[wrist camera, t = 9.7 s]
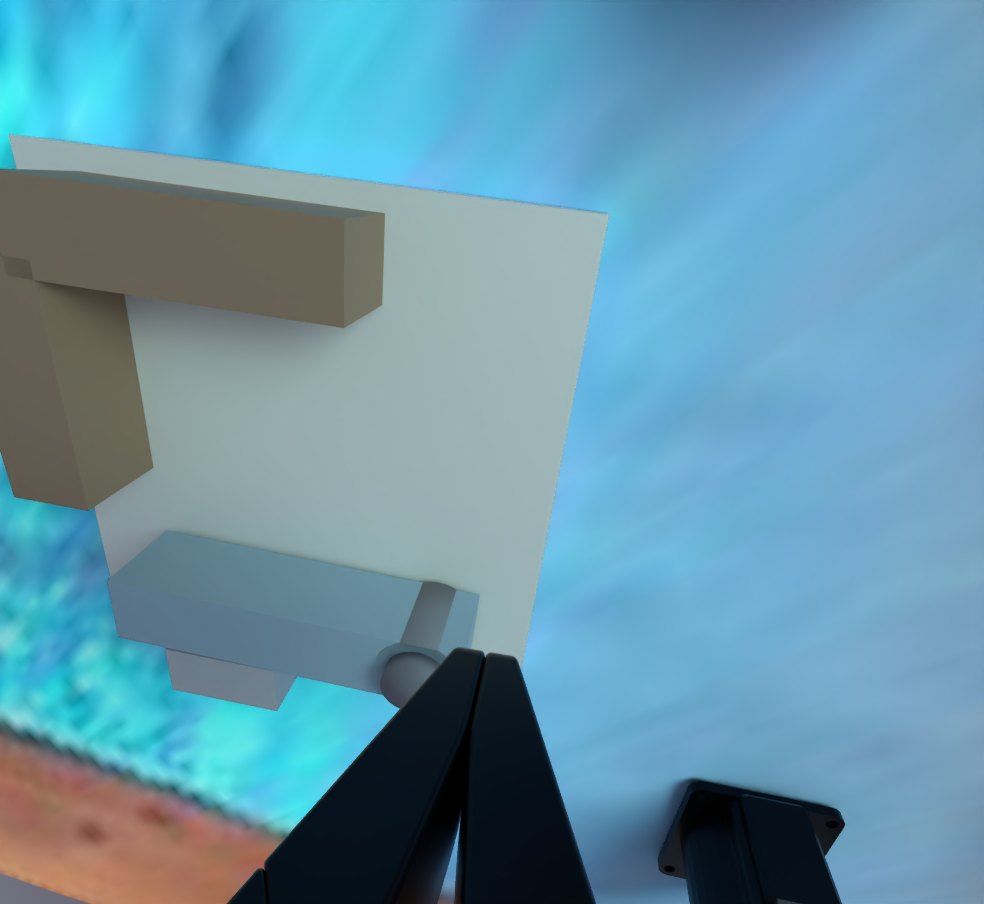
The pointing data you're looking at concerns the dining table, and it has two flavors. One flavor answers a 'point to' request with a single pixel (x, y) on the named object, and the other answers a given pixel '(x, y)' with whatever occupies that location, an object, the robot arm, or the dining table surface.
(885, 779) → the dining table surface
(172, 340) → the seat
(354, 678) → the leg
